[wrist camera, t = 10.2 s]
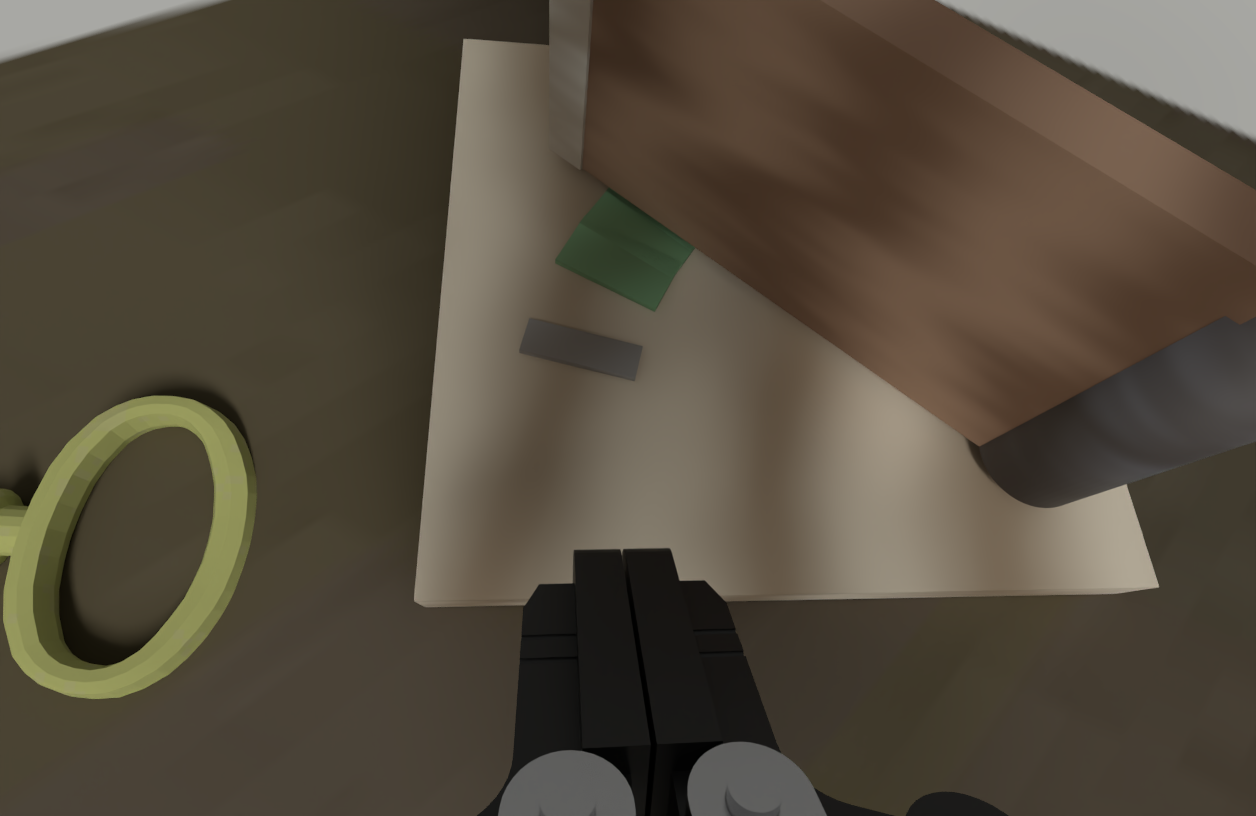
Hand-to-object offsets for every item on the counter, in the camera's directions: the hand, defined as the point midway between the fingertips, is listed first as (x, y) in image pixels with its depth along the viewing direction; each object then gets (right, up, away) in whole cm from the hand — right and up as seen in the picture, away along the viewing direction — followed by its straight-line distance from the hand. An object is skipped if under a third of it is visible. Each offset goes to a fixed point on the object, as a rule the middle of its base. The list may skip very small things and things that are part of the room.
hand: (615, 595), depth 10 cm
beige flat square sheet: (+4, +6, +11) cm, 13 cm away
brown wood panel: (+5, +6, +8) cm, 12 cm away
